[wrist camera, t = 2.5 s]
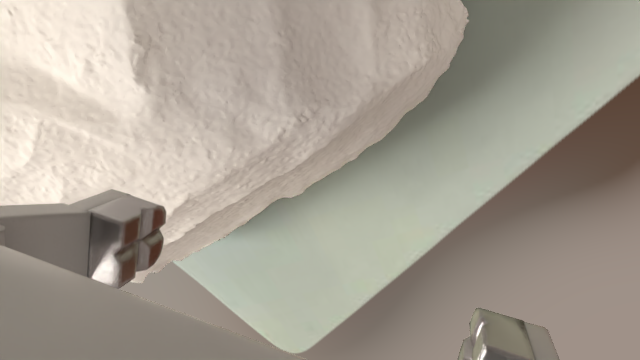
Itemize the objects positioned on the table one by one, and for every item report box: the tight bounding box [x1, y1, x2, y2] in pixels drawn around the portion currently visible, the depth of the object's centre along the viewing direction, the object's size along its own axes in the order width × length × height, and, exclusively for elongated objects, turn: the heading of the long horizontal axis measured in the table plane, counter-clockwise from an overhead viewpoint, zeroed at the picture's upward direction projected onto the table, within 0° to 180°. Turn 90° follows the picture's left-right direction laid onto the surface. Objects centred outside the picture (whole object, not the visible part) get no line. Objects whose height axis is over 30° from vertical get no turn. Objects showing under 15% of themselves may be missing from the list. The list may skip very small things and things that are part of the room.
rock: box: [0, 0, 469, 283], centre depth 32 cm, size 28×22×35 cm
